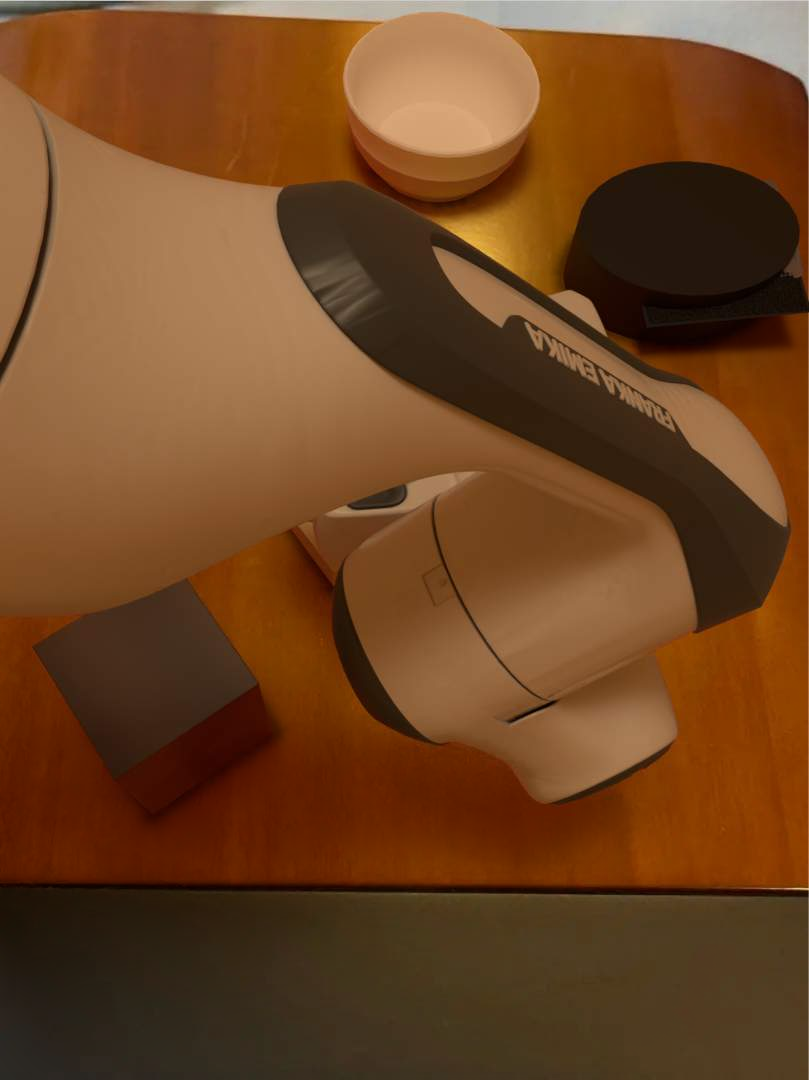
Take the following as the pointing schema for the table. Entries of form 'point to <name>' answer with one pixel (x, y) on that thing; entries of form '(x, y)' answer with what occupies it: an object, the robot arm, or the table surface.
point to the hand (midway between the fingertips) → (384, 285)
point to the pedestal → (157, 692)
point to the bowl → (439, 103)
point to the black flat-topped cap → (686, 252)
